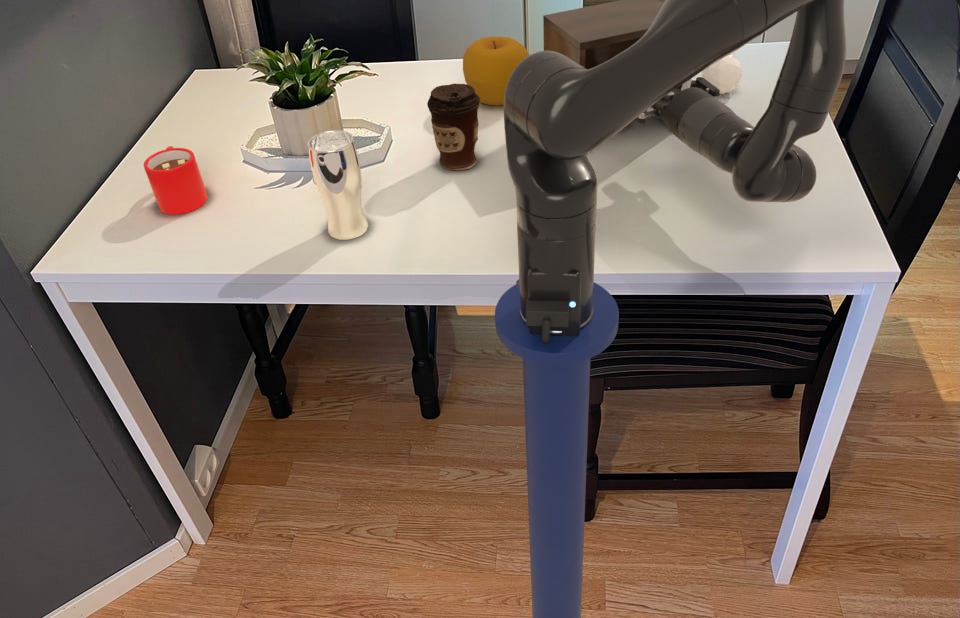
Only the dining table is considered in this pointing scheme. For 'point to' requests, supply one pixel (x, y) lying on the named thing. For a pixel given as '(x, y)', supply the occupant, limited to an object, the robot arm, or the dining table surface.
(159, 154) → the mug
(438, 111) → the coffee cup
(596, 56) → the cubby
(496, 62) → the apple
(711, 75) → the ornament
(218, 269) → the dining table surface
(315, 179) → the beer glass
